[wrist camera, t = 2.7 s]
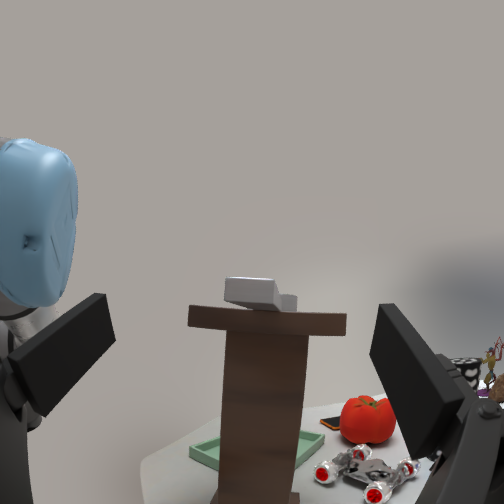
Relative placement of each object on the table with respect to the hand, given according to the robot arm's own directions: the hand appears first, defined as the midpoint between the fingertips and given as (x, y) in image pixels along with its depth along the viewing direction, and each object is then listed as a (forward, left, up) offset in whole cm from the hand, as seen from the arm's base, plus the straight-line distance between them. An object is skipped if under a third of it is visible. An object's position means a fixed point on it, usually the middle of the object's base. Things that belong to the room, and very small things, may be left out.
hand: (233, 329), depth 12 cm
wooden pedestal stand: (-8, +17, -28) cm, 34 cm away
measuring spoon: (-5, +11, +1) cm, 12 cm away
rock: (+38, +82, -28) cm, 95 cm away
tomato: (-3, +53, -28) cm, 60 cm away
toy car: (+2, +34, -28) cm, 44 cm away
